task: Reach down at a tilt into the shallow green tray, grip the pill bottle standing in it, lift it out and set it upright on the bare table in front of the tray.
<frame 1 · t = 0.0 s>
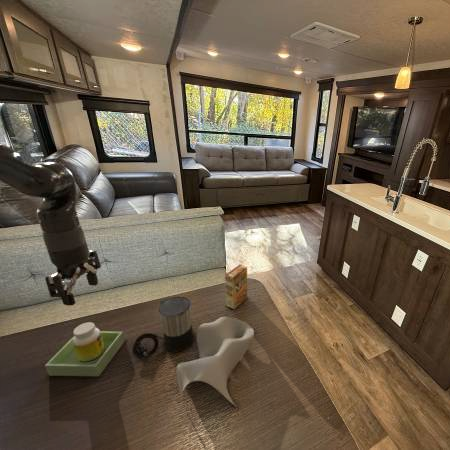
hand: (82, 294, 69), 21 cm above the table, tool pointing down, fingers open, 8 cm apart
candy box: (237, 301, 102), on the table
sculpture: (220, 362, 77), on the table
pill bottle: (93, 356, 75), resting on shallow green tray
milk frother: (165, 345, 81), on the table
shallow green tray: (90, 356, 75), on the table
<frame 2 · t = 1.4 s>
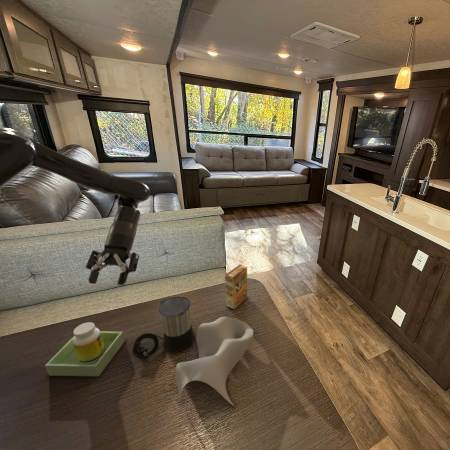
hand: (106, 284, 78), 18 cm above the table, tool tilted 45°, fingers open, 8 cm apart
nothing on the table moved.
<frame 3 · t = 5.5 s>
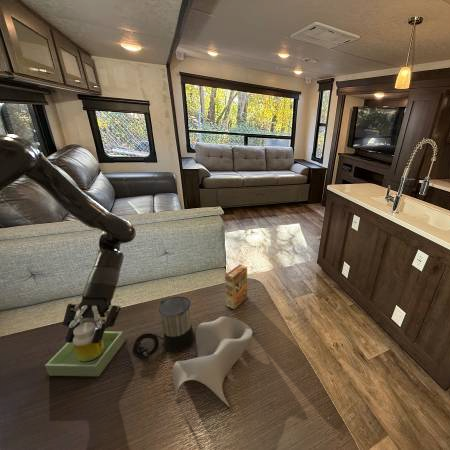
hand: (82, 342, 70), 8 cm above the table, tool tilted 45°, fingers closed on pill bottle, 6 cm apart
pill bottle: (93, 356, 75), resting on shallow green tray, touching gripper
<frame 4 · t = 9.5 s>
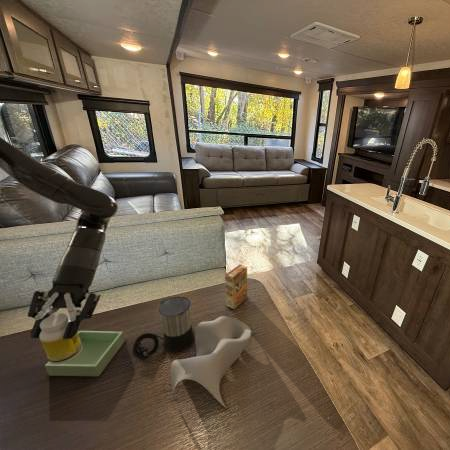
hand: (52, 338, 57), 20 cm above the table, tool tilted 45°, fingers closed on pill bottle, 6 cm apart
pill bottle: (67, 354, 62), point 12 cm above the table, touching gripper
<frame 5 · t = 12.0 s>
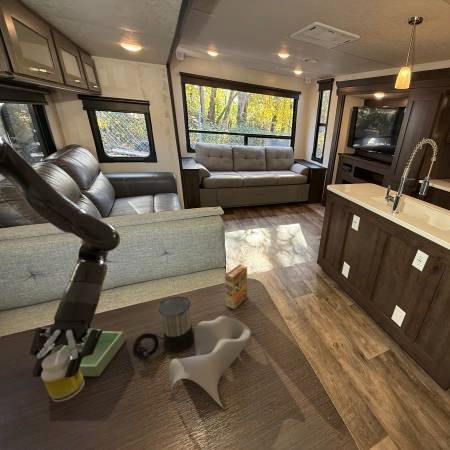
hand: (54, 376, 57), 12 cm above the table, tool tilted 45°, fingers closed on pill bottle, 6 cm apart
pill bottle: (69, 390, 61), point 4 cm above the table, touching gripper
when the fingers open (7 cm above the table, at t = 13.9 s): pill bottle stays where it is, on the table.
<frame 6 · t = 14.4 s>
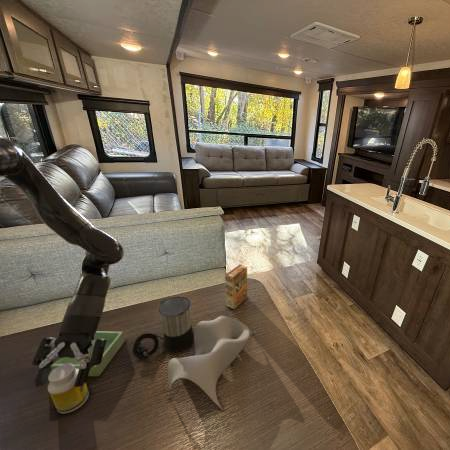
hand: (59, 386, 59), 8 cm above the table, tool tilted 45°, fingers open, 8 cm apart
pill bottle: (74, 401, 63), on the table
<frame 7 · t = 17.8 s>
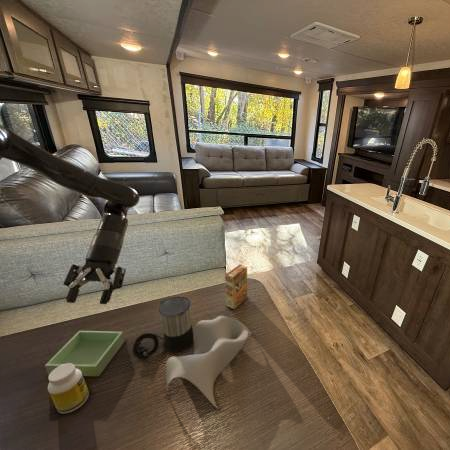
hand: (86, 303, 68), 20 cm above the table, tool tilted 45°, fingers open, 8 cm apart
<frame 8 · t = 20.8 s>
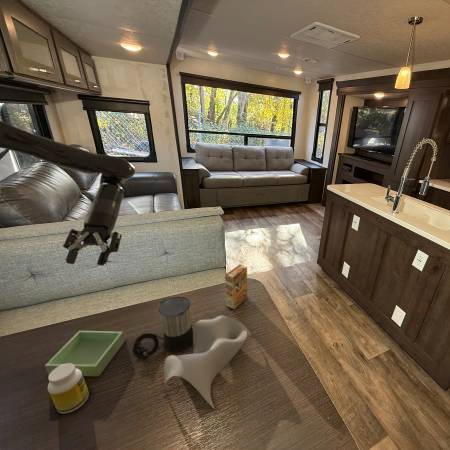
hand: (85, 264, 73), 27 cm above the table, tool tilted 45°, fingers open, 8 cm apart
at the end: pill bottle inside the target area (0.2 cm from its centre), on the table; pill bottle tilted 0°; the gripper is holding nothing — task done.
